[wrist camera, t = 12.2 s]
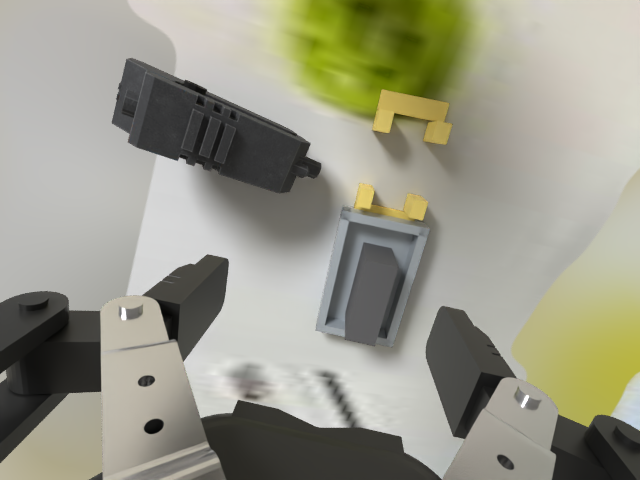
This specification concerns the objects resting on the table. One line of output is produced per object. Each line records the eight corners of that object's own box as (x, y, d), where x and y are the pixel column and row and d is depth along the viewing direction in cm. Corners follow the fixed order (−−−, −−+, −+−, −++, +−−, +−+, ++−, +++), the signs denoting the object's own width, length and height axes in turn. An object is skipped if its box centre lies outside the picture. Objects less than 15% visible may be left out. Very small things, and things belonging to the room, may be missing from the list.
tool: (135, 50, 33) (119, 54, 22) (297, 125, 43) (346, 157, 32) (121, 108, 35) (99, 141, 23) (279, 167, 45) (319, 212, 33)
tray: (342, 205, 39) (342, 210, 37) (424, 222, 39) (430, 229, 36) (317, 318, 44) (315, 330, 42) (389, 333, 44) (392, 347, 41)
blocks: (381, 90, 35) (385, 84, 31) (448, 103, 35) (460, 100, 31) (351, 216, 40) (351, 225, 36) (410, 229, 40) (416, 239, 36)
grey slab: (363, 242, 40) (365, 259, 34) (391, 248, 40) (398, 267, 34) (344, 316, 43) (343, 344, 38) (370, 322, 43) (373, 351, 37)
